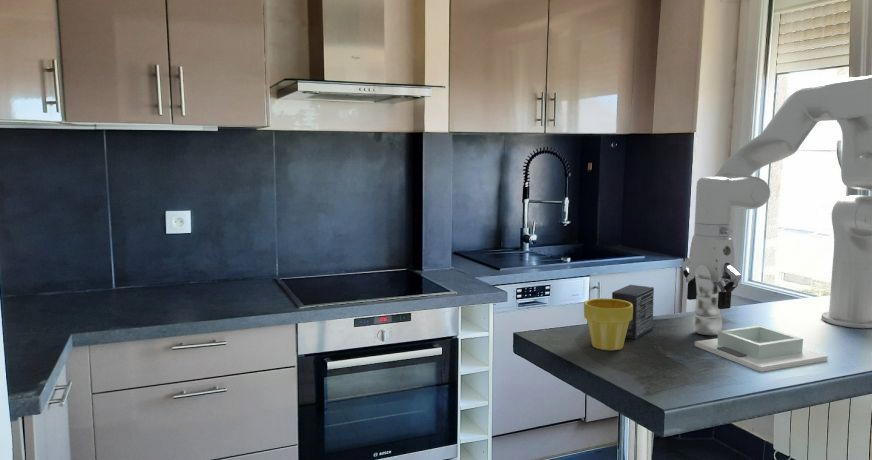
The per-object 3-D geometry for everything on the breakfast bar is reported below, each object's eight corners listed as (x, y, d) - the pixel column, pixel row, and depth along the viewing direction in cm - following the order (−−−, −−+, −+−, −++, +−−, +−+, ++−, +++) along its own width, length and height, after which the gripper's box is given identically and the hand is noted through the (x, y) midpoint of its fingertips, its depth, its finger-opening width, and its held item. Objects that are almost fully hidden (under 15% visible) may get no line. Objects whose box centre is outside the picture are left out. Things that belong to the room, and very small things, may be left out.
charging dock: (756, 337, 152) (757, 320, 151) (827, 360, 135) (828, 341, 135) (694, 345, 145) (695, 328, 145) (761, 371, 129) (762, 352, 128)
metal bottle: (723, 332, 155) (727, 249, 153) (719, 340, 150) (724, 253, 147) (694, 328, 159) (698, 246, 156) (689, 335, 153) (693, 251, 150)
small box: (627, 325, 162) (629, 283, 161) (653, 329, 158) (655, 287, 157) (609, 334, 154) (610, 290, 153) (636, 339, 150) (637, 295, 149)
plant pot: (587, 337, 152) (588, 295, 151) (633, 342, 148) (635, 299, 147) (579, 350, 143) (580, 306, 141) (628, 355, 139) (630, 310, 137)
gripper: (754, 234, 144) (750, 311, 147) (697, 225, 160) (693, 294, 163) (728, 236, 142) (723, 314, 144) (672, 227, 158) (669, 297, 160)
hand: (708, 303), depth 153 cm, fingers open, 9 cm apart
